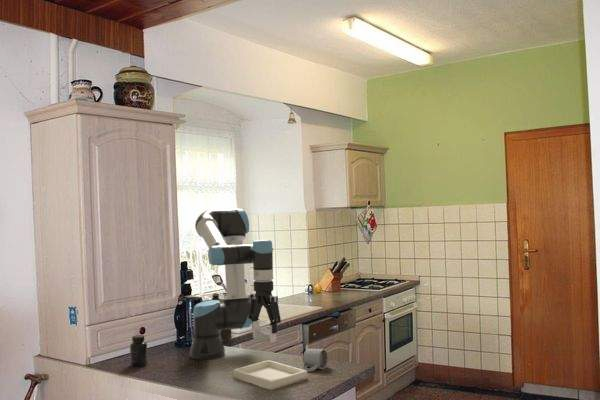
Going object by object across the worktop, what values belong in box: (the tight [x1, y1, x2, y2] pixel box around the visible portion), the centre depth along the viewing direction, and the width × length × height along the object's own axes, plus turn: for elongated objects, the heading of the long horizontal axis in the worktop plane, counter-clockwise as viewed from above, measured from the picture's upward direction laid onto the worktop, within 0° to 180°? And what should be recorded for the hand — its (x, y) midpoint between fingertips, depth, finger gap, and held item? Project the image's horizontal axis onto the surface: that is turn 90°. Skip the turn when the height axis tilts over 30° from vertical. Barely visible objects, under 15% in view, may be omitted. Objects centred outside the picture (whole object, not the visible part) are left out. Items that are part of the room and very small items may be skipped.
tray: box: [232, 359, 308, 391], centre depth 212 cm, size 22×18×3 cm
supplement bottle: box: [129, 334, 148, 368], centre depth 233 cm, size 7×7×12 cm
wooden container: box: [202, 292, 232, 341], centre depth 280 cm, size 15×15×22 cm
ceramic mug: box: [302, 348, 329, 373], centre depth 223 cm, size 11×8×8 cm
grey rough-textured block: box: [258, 326, 270, 343], centre depth 214 cm, size 10×6×6 cm, turn 169°
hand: (264, 339), depth 213 cm, fingers closed on grey rough-textured block, 9 cm apart
